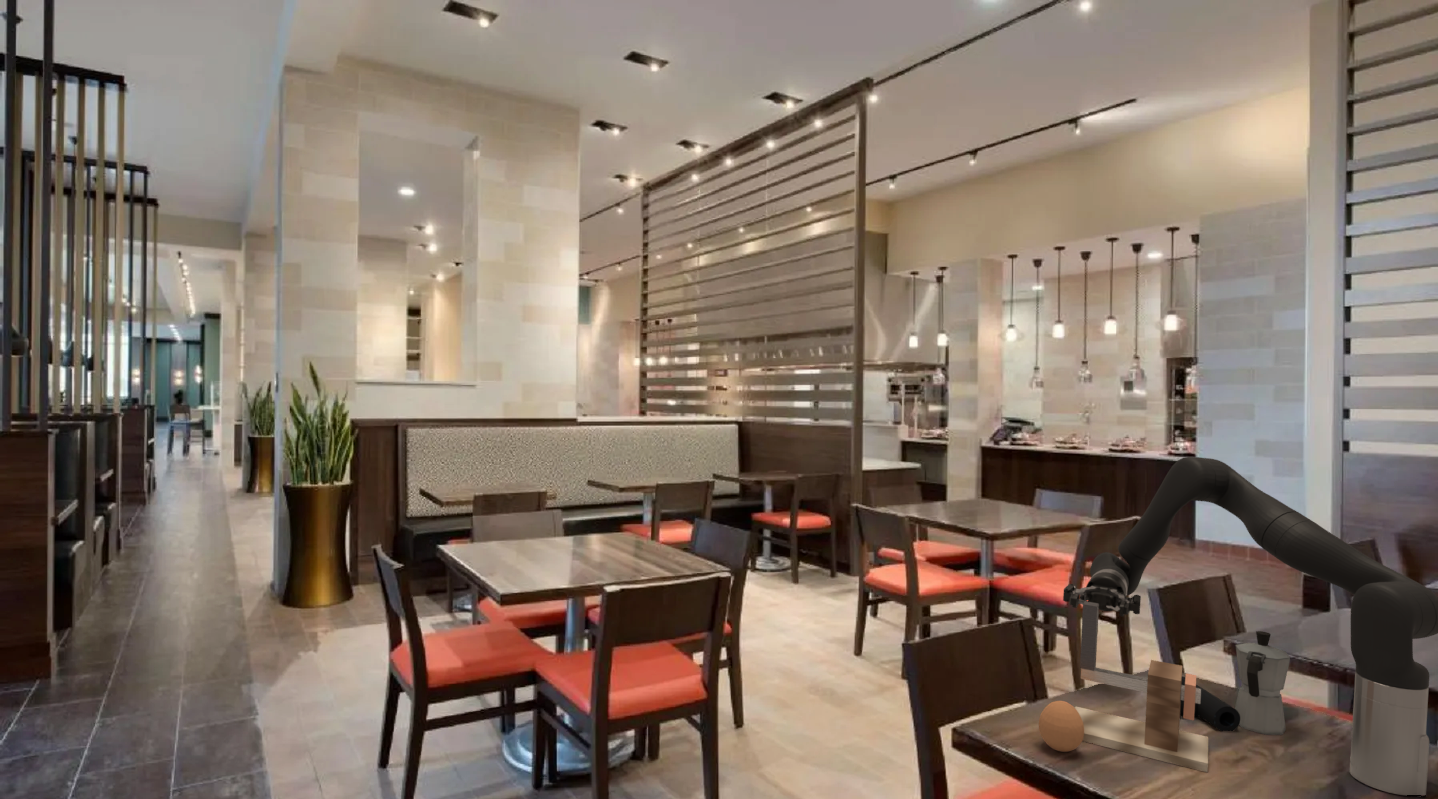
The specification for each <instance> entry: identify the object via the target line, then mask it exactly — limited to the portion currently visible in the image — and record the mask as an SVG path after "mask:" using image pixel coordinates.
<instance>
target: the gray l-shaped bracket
mask: <svg viewBox="0 0 1438 799" xmlns="http://www.w3.org/2000/svg"><path fill="white" fill-rule="evenodd" d="M1099 611H1100V610H1099V604H1098V603H1092V602H1086V601H1085V602H1084V603H1083V605H1082V620H1081V638H1080V639H1081V640H1080V656H1079V657H1080V659H1079V660H1080V661H1079V662H1080V664H1079V669H1080V679H1081V680H1084V681H1085V680H1086V681H1091V682H1094V683H1099V684H1104V685H1108V686H1114V687H1118V688H1122V689H1129V690H1131V691H1137V692H1140V693H1141V692H1142V693H1145V694H1147V682H1148V677H1144V676H1138V675H1134V674H1130V673H1124V672H1119V671H1114V670H1109V669H1105V668H1100V667H1097V648H1098V629H1099V625H1098V624H1099ZM1184 694H1185V686H1184V685H1181V695H1180V700H1184ZM1200 701H1201V689H1199V688H1196V693H1195V703H1198V704H1200Z"/></svg>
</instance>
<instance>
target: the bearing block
mask: <svg viewBox="0 0 1438 799" xmlns="http://www.w3.org/2000/svg"><path fill="white" fill-rule="evenodd" d="M1182 676H1183V665H1181V664H1180V665H1179V664H1174V663H1169V662H1165V661H1159V660H1154V659H1153V660H1152V659H1151V660H1150V662H1149V667H1148V672H1147V678H1148V682H1147V693H1146V706H1145V707H1146V708H1145V721H1140V720H1137V719H1132V718H1127V717H1124V716H1118V715H1115V714H1111V713H1110V714H1109V713H1106V712H1102V711H1097V710H1094V709H1093V710H1092V709H1089V708H1085V707H1080V706H1075V707H1074V708H1075V709H1076V710H1077V711H1078V713H1079V714H1080V716H1081V719H1082V721H1083V725H1084V737H1083V740H1082V742H1084V741H1085V743H1089V744H1092V743H1093V744H1092V745H1097V746H1101V747H1104V748H1108V749H1112V750H1116V751H1120V752H1125V753H1128V754H1132V755H1137V756H1141V757H1144V758H1149V759H1152V760H1156V761H1160V762H1164V763H1168V764H1172V765H1176V766H1177V765H1178V766H1179V767H1180V766H1181V767H1185V768H1189V769H1193V770H1197V771H1201V772H1204V773H1208V771H1209V736H1207V735H1201V734H1197V733H1193V732H1190V731H1185V730H1180V722H1181V719H1180V718H1181V715H1180V704H1181V700H1180V695H1181V685H1182Z"/></svg>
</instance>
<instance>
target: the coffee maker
mask: <svg viewBox="0 0 1438 799" xmlns="http://www.w3.org/2000/svg"><path fill="white" fill-rule="evenodd" d="M1255 635H1256V640H1257V642H1255V643H1254V642H1247V643H1246V642H1245V643H1238V644H1235V651H1236V660H1237V661H1236V662H1237V671H1238V672H1237V673H1238V674H1237V675H1238V679H1239V681H1241V685H1240V687H1239V690H1238V693H1237V697H1236V701H1235V702H1236V703H1235V705H1234V706H1235V707H1234V708H1235V709H1236V710H1237V711H1238V713H1239V715H1240V724H1239V726H1238V727H1241V728H1242V729H1245V730H1248V731H1251V732H1255V733H1258V734H1261V735H1271V736H1283V735H1284V733H1285V731H1286V721H1285V714H1284V704H1283V699H1282V698H1283V697H1282V694H1281V691H1282V690H1284V688H1285V684H1286V679H1287V676H1288V675H1287V674H1288V671H1289V666H1290V660H1291V656H1290V655H1289V654H1288V653H1287V652H1286V651H1284V650H1282V649H1280V648H1277V647H1273V646H1272V645H1269V641H1270V638H1271V633H1270V632H1266V631H1261V630H1257V631H1255Z"/></svg>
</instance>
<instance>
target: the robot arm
mask: <svg viewBox="0 0 1438 799" xmlns="http://www.w3.org/2000/svg"><path fill="white" fill-rule="evenodd" d="M1191 501H1195V502H1206V503H1211V504H1214V505H1216V506H1219V507H1221V508H1222V509H1224V510H1225V511H1227V512H1228V513H1231V514H1232V515H1234V516H1235V517H1236V518H1238V519H1239V521H1241V522H1242V523H1243V525H1244V527H1245V529H1246V530H1247V532H1248V533H1249V535H1250V537H1251V538H1252V540H1254V542H1255V543H1256V544H1257V545H1258V546H1260V548H1261V549H1263V550H1264V551H1266V552H1267V553H1269V554H1270V555H1272V557H1275V558H1276V559H1278V560H1279V561H1280V562H1281V563H1282V564H1285V565H1286V566H1288V567H1290V568H1292V569H1294V570H1296V571H1299V572H1301V573H1303V574H1306V575H1307V576H1310V577H1313V578H1316V579H1318V580H1321V581H1324V582H1327V583H1330V585H1331V584H1332V585H1335V586H1337V587H1340V588H1341V589H1343V590H1345V591H1347V592H1349V593H1350V594H1352V595H1353V597H1352V600H1351V605H1350V650H1351V651H1350V652H1351V655H1352V657H1353V660H1354V662H1355V672H1354V673H1355V675H1354V690H1353V692H1354V693H1353V706H1352V708H1353V709H1352V710H1353V711H1352V727H1351V740H1350V741H1351V743H1350V758H1349V773H1350V775H1351V776H1352V777H1353V778H1354V779H1356V780H1357V781H1358V782H1360V783H1362V784H1364V785H1365V786H1369V787H1371V788H1374V789H1377V790H1380V791H1383V792H1386V793H1390V794H1395V795H1400V796H1407V795H1426V796H1427V785H1428V784H1427V782H1428V771H1429V770H1428V767H1429V766H1428V765H1429V752H1430V738H1429V736H1428V735H1427V719H1428V702H1429V686H1430V672H1429V669H1428V668H1427V667H1426V666H1424V665H1423V664H1422V663H1419V662H1417V661H1415V659H1414V653H1413V652H1414V651H1413V647H1414V646H1413V645H1414V644H1413V643H1414V642H1413V640H1416V639H1425V638H1429V637H1432V636H1435V635H1437V634H1438V596H1437V595H1436V594H1435V593H1434V592H1433V591H1432V590H1430V589H1429V588H1428V587H1426V586H1425V585H1423V584H1422V583H1419V582H1417V581H1416V580H1413V579H1412V578H1410V577H1408V576H1405V575H1403V574H1401V573H1399V572H1398V571H1396V570H1394V569H1392V568H1390V567H1388V566H1386V565H1384V564H1383V563H1380V562H1378V561H1377V560H1374V559H1373V558H1371V557H1369V556H1368V555H1366V554H1364V553H1363V552H1361V551H1360V550H1359V549H1357V548H1355V547H1353V545H1350V544H1349V543H1347V542H1346V541H1344V540H1343V539H1341V538H1339V537H1338V536H1336V535H1334V533H1331V532H1330V531H1328V530H1326V529H1325V528H1323V527H1322V526H1321V525H1319V524H1317V523H1316V522H1314V521H1313V520H1312V519H1310V518H1308V517H1306V516H1305V515H1303V514H1302V513H1301V512H1299V511H1297V510H1296V509H1293V508H1292V507H1290V506H1288V505H1286V504H1285V503H1283V502H1281V501H1280V500H1278V499H1277V498H1275V497H1273V496H1271V495H1270V494H1268V493H1266V492H1265V491H1263V490H1261V489H1259V488H1258V487H1256V486H1255V485H1254V484H1252V483H1251V482H1250V481H1249V480H1247V478H1245V477H1244V476H1242V475H1241V474H1240V473H1238V472H1237V471H1236V470H1235V469H1234V468H1233V467H1231V465H1230V466H1229V465H1228V464H1227V463H1225V462H1223V461H1222V460H1218V459H1215V458H1207V457H1199V456H1197V457H1196V456H1185V457H1182V458H1180V459H1178V460H1177V461H1175V463H1173V465H1172V466H1171V468H1170V469H1169V471H1167V474H1166V475H1165V477H1164V479H1163V481H1162V483H1161V484H1160V486H1159V488H1158V489H1157V491H1156V493H1155V495H1154V496H1153V498H1152V500H1151V501H1150V504H1149V505H1148V507H1147V508H1146V510H1145V511H1144V513H1143V515H1142V516H1141V517H1140V519H1139V520H1138V521H1137V522H1136V524H1134V526H1133V527H1132V529H1130V531H1129V532H1128V533H1127V534H1126V535H1125V537H1124V538H1122V540H1121V541H1120V542H1119V543H1118V546H1117V549H1118V553H1119V554H1120V556H1121V557H1122V558H1123V560H1122V559H1121V558H1120V557H1118V556H1117V555H1116V554H1114V553H1112V552H1106V551H1105V552H1102V553H1099V554H1098V555H1097V556H1096V557H1095V558H1094V559H1093V561H1092V562H1091V564H1090V567H1089V568H1090V570H1089V571H1090V572H1089V573H1090V577H1091V578H1090V579H1089V581H1088V582H1087V584H1086V586H1084V587H1081V588H1077V586H1076V585H1075V584H1073V583H1069V584H1068V585H1066V586H1065V587H1064V588H1063V595H1062V601H1063V602H1065V603H1068V602H1069V605H1070V606H1072V608H1073V609H1077V608H1078V607H1079V605H1082V606H1083V603H1084V602H1085V601H1086V602H1092V603H1098V604H1099V611H1103V612H1112V611H1115V612H1119V614H1118V615H1119V616H1120V617H1125V616H1124V615H1126V616H1127V615H1129V614H1130V612H1132V613H1133V614H1135V615H1141V600H1142V598H1141V595H1139V594H1134V595H1132V594H1133V593H1134V592H1135V591H1136V590H1137V589H1138V587H1139V584H1140V583H1141V582H1140V581H1141V579H1142V577H1143V574H1144V571H1145V569H1146V567H1147V566H1148V565H1149V563H1150V562H1151V561H1152V559H1153V558H1155V556H1156V555H1157V554H1158V553H1159V552H1160V551H1161V549H1163V547H1164V546H1165V544H1166V543H1167V541H1168V539H1169V537H1170V534H1171V530H1172V529H1171V528H1172V523H1173V520H1174V518H1175V516H1176V515H1177V513H1178V512H1179V511H1180V510H1181V509H1182V508H1183V507H1184V506H1186V505H1187V504H1188V503H1190V502H1191ZM1124 560H1125V561H1124ZM1130 595H1131V597H1128V596H1130Z"/></svg>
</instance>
